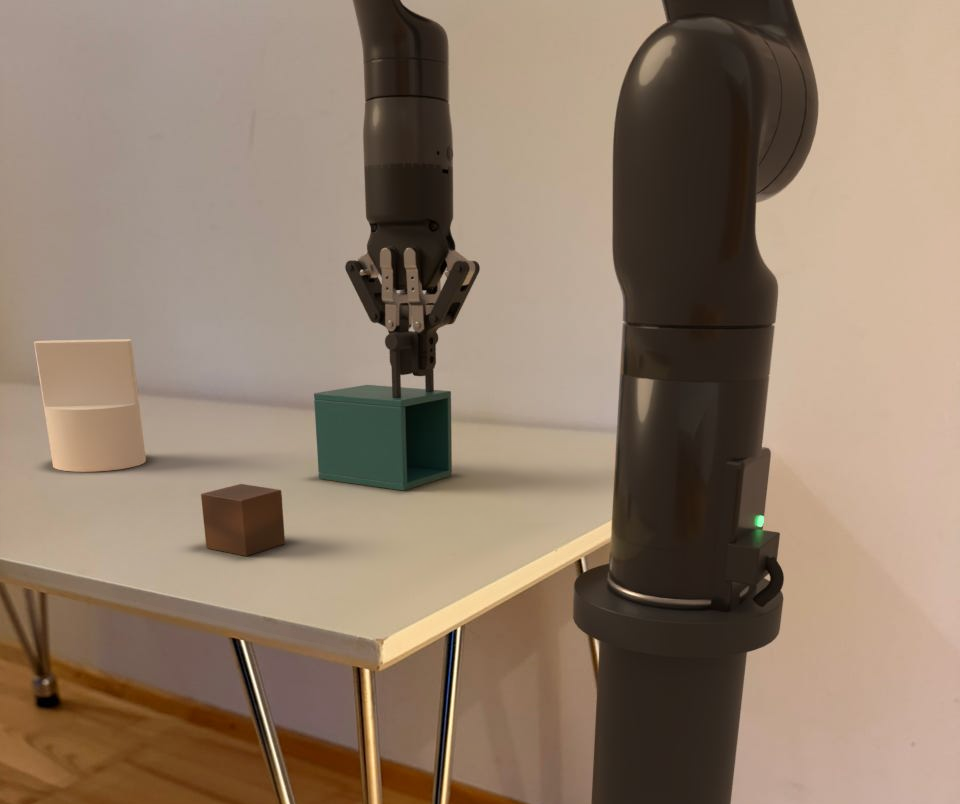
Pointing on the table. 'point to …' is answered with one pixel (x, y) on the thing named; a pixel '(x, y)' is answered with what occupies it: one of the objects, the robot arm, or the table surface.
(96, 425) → the base with upright slab
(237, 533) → the block
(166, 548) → the table surface
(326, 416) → the teal open storage bin
